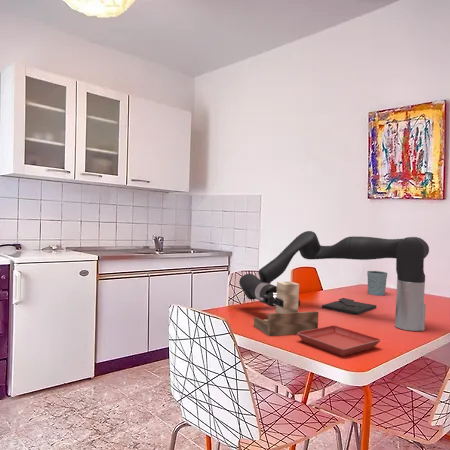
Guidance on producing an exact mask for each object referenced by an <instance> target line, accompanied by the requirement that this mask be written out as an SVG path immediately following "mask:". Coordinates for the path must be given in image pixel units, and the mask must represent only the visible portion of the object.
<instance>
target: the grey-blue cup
mask: <svg viewBox="0 0 450 450" xmlns="http://www.w3.org/2000/svg"><path fill="white" fill-rule="evenodd" d="M387 279H388V272H385V271H381V270H380V271H379V270H368V271H367V294H368V295H370V296H371V295H372V296H376V297H383V296H385V295H386V288H387V287H386V286H387Z"/></svg>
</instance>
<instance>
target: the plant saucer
mask: <svg viewBox="0 0 450 450" xmlns="http://www.w3.org/2000/svg"><path fill="white" fill-rule="evenodd" d="M296 335H297V336H298V337H299V338H300V339H301V341H302V342H303V343H305V344H307V343H308V344H307V345H311V346H314V347H317V348H319V349H321V350H323V351H327V352H330V353H333V354H335V355H338V356H341V357H346V356H348V355H352V354H357V353H359V352H363V351H368V350H371V349H373V348H374V347H376V346H377V345H378V344H379V343H380V342H381V338H378V337H374V336H371V335H368V334H365V333H361V332H358V331H355V330H352V329H348V328H345V327H342V326H339V325H328V326H323V327H318V328H317V329H312V330H307V331H302V332H298V333H297V334H296Z"/></svg>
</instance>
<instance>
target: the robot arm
mask: <svg viewBox="0 0 450 450" xmlns="http://www.w3.org/2000/svg"><path fill="white" fill-rule="evenodd" d="M298 252H299V253H300V256H301V257H302V258H303V259H304V260H325V259H327V260H328V259H329V260H330V259H331V260H332V259H334V260H335V259H338V260H340V259H341V260H358V261H359V260H360V261H369V260H380V259H396V262H395V267H396V268H395V271H396V275H397V277H396V278H397V281H396V294H395V295H396V298H395V300H396V301H395V315H394V316H395V318H394V327H396V328H398V329H401V330H404V331H411V332H412V331H413V332H420V331H422V332H424V331H425V327H426V326H425V323H426V305H427V304H426V303H425V288H426V287H425V286H426V274H425V271H424V270H425V269H424V268H425V267H424V265H425V262H424V261H425V259H426V258H427V257H428V255H429V253H430V246H429V244H428V243H427V242H426V241H425V240H424V239H422V238H421V237H417V236H407V237H404V238H390V239H389V238H382V237H374V236H373V237H372V236H359V235H358V236H353V235H352V236H347V237H345V238H343V239H340V240H339V241H338V242H336V243H334V244H333V245H321V244H320V241H319V238H318V236H317V234H316V232H314V231H312V230H306V231H303V232H301V233H300V234H298V235H297V236H296V237H295V238H294V239H293V240H292V241H291V242H290V243H289V244H288V245H287V246H286V247H285V248H284V249H283V250H282V251H281V252H280V253H279V254H278V255H277V256H276V257H275V258H273V259H272V260H270V261H269V262H268V263H267V264H265V265H264V266H262V267H261V268H260V269H259V270H258V277H257V276H256V275H255V274H253V273H246V274H244V275H242V276H241V277H239V278H240V279H239V283H238V284H239V286H240V288H241V289H242V291H243V293H244V295H245V296H246V298H247V299H249V300H258V301H259V302H260V303H262V304H265V305H267V306H268V307H272V308H273V307H276V305H278V306H280V307H283V304H284V301H283V300H281V299H279V298H277V297H276V292H277V285H274V284H271V283H272V282H274V281H275V280H276V279H278V278H279V277H280V276H281V275H283V274H284V272H285V271H286V270H287V268H288V266H289V264H290V263H291V261H292V260H293V258H294V256H295V255H296V254H297V253H298ZM300 306H301V300H300V299H299V300H298V307H300Z"/></svg>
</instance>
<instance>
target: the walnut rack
mask: <svg viewBox="0 0 450 450" xmlns="http://www.w3.org/2000/svg"><path fill="white" fill-rule="evenodd" d="M267 316H268V317H267V319H268V323H266V322H264V321H263V320H264V319H261V318H259V317H257V316H256V317H253V327H254V328H256V329H257V330H259V331H260V332H262V333H263V334H265V335H267V336H268V337H270V336H271V337H276V336H277V337H278V336H289V335H291V334H294V335H298V334H297V333H298V332H302V331H307V330H312V329H317V328H319V311H317V310H316V311H314V310H313V311H298V312H290V313H276V312H270V313H268V315H267Z"/></svg>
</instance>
